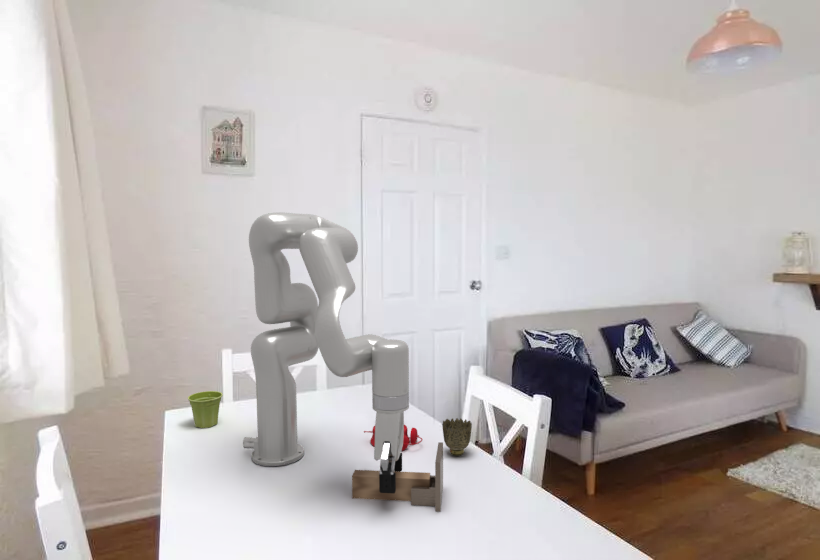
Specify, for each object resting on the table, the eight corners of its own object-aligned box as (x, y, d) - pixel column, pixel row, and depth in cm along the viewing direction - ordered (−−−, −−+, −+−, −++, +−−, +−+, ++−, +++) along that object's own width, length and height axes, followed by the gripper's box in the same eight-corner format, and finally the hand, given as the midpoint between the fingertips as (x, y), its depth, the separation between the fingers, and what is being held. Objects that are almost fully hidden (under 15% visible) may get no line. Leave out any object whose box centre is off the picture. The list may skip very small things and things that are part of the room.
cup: (470, 461, 124) (470, 429, 124) (440, 459, 126) (440, 427, 125) (473, 449, 132) (473, 418, 131) (444, 447, 133) (444, 416, 133)
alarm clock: (381, 419, 144) (426, 416, 136) (386, 441, 144) (431, 440, 136) (358, 430, 136) (405, 428, 128) (363, 454, 135) (410, 454, 127)
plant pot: (224, 427, 148) (223, 398, 147) (188, 432, 144) (187, 402, 143) (222, 417, 156) (221, 389, 156) (188, 421, 153) (187, 393, 152)
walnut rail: (352, 499, 107) (351, 476, 107) (355, 492, 110) (354, 469, 110) (429, 503, 105) (429, 479, 105) (430, 495, 108) (430, 472, 108)
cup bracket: (410, 510, 102) (409, 461, 101) (415, 486, 112) (415, 441, 111) (440, 511, 101) (440, 462, 101) (443, 487, 111) (443, 442, 111)
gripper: (380, 388, 115) (380, 462, 116) (364, 413, 98) (365, 501, 99) (413, 389, 114) (413, 464, 115) (403, 415, 97) (403, 503, 98)
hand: (391, 481), depth 107 cm, fingers open, 9 cm apart
